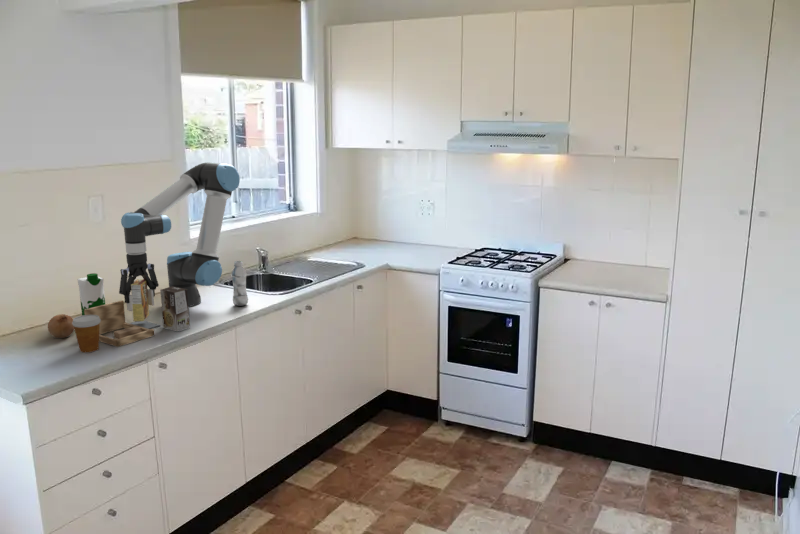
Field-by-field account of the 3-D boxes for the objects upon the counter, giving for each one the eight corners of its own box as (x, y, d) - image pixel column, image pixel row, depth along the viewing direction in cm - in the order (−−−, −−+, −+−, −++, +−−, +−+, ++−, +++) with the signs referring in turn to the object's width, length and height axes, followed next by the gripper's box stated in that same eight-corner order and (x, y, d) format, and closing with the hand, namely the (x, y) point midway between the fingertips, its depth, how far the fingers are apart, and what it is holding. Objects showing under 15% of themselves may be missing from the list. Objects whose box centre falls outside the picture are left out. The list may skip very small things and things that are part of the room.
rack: (124, 326, 274) (121, 300, 272) (154, 335, 264) (152, 308, 261) (87, 337, 261) (84, 309, 259) (117, 346, 251) (114, 318, 248)
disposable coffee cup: (71, 349, 248) (67, 318, 245) (97, 343, 254) (94, 312, 252) (80, 356, 241) (77, 323, 239) (107, 349, 248) (104, 318, 245)
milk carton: (88, 325, 276) (83, 277, 271) (79, 320, 282) (74, 273, 278) (109, 320, 282) (105, 273, 278) (100, 316, 288) (95, 270, 284)
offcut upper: (135, 331, 263) (135, 326, 263) (141, 333, 261) (141, 328, 260) (114, 337, 256) (113, 331, 256) (119, 339, 254) (119, 333, 253)
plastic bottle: (249, 306, 303) (247, 262, 298) (234, 308, 300) (231, 264, 296) (247, 302, 308) (245, 259, 304) (231, 304, 306) (229, 261, 302)
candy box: (139, 315, 278) (136, 278, 275) (150, 315, 278) (147, 278, 275) (133, 321, 269) (129, 284, 266) (144, 321, 270) (141, 284, 266)
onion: (69, 345, 261) (71, 326, 256) (43, 341, 258) (44, 321, 253) (77, 330, 268) (79, 310, 263) (51, 325, 266) (53, 305, 261)
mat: (142, 321, 281) (141, 319, 281) (160, 326, 275) (160, 324, 275) (124, 326, 275) (124, 324, 275) (143, 331, 268) (143, 330, 268)
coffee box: (190, 327, 273) (188, 289, 269) (177, 332, 268) (174, 292, 264) (176, 323, 278) (173, 285, 274) (162, 327, 273) (159, 289, 269)
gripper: (153, 247, 279) (158, 300, 284) (105, 256, 261) (110, 312, 266) (165, 249, 275) (169, 303, 280) (117, 258, 257) (122, 315, 262)
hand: (140, 307), depth 273 cm, fingers closed on candy box, 9 cm apart
